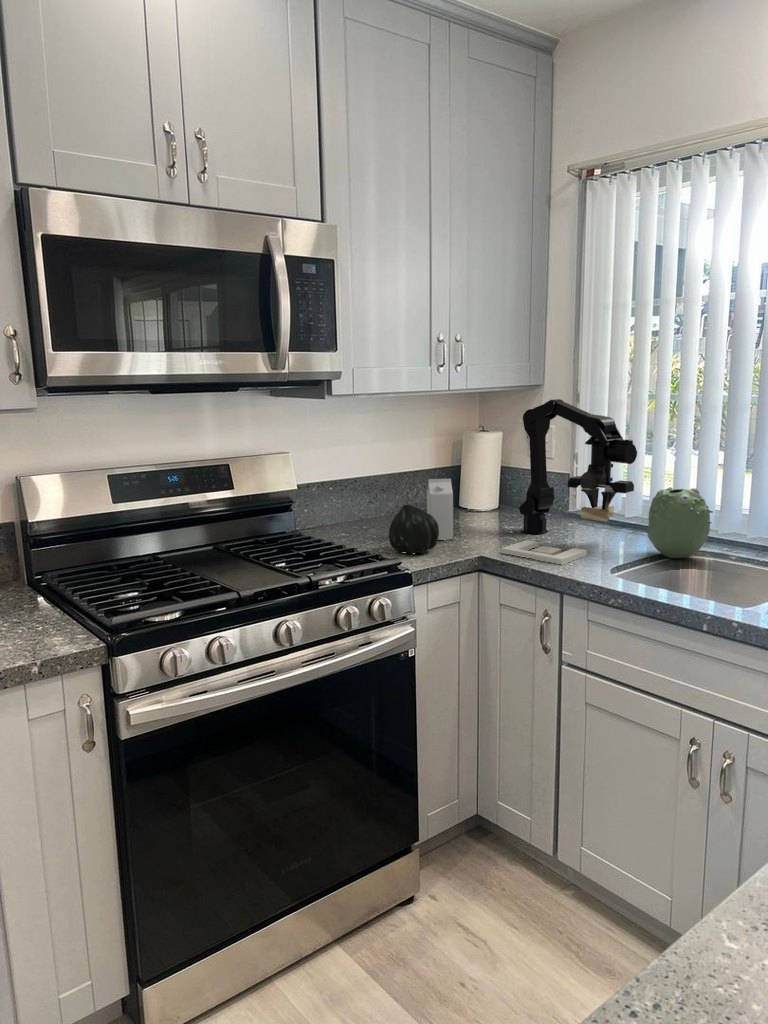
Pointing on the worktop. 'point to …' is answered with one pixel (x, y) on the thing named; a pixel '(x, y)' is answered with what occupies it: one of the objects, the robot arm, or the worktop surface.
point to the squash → (413, 530)
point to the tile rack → (558, 558)
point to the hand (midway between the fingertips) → (599, 513)
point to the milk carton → (441, 505)
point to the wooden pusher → (597, 513)
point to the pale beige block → (547, 550)
